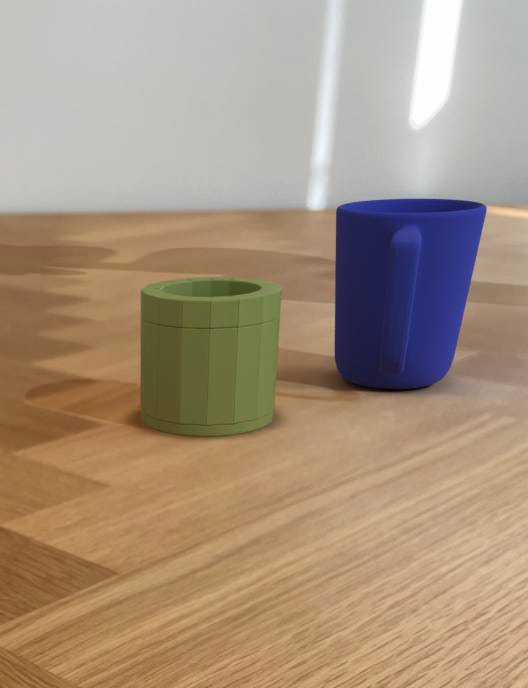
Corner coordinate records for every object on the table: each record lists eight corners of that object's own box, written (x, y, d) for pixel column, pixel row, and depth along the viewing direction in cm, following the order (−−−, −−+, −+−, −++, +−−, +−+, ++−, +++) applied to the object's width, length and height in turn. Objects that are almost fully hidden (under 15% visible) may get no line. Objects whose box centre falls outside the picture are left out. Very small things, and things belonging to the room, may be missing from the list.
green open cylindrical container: (255, 397, 62) (262, 274, 59) (287, 432, 56) (296, 296, 52) (133, 403, 62) (133, 280, 59) (151, 439, 55) (152, 303, 52)
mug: (310, 411, 59) (325, 222, 54) (327, 362, 69) (341, 199, 65) (464, 418, 57) (494, 221, 52) (459, 366, 67) (484, 197, 62)
